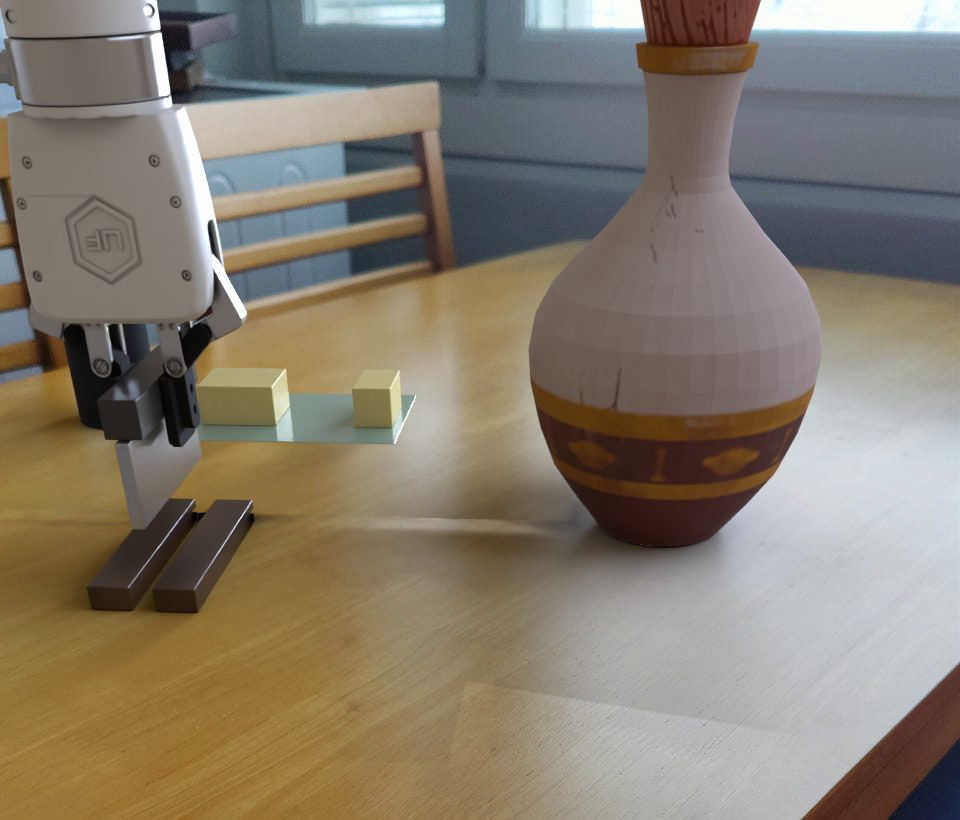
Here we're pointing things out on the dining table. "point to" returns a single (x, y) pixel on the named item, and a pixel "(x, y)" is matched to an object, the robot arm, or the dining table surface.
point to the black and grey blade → (145, 440)
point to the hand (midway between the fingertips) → (159, 437)
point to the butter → (243, 396)
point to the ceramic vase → (677, 312)
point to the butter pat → (377, 398)
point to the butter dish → (312, 423)
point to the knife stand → (188, 569)
